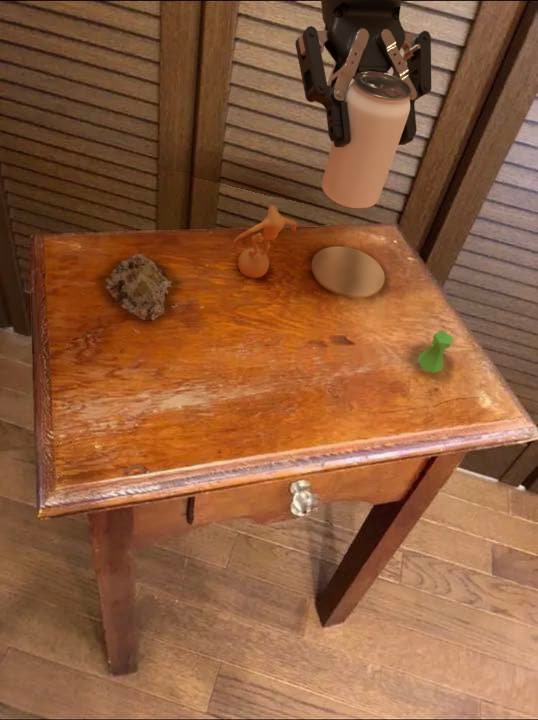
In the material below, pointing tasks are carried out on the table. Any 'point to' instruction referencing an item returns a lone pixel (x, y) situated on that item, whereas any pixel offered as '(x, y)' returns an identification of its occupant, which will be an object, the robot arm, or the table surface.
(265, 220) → the figurine
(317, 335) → the table surface
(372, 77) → the can
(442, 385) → the table surface
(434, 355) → the game piece
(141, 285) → the mineral rock
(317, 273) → the ash disc
